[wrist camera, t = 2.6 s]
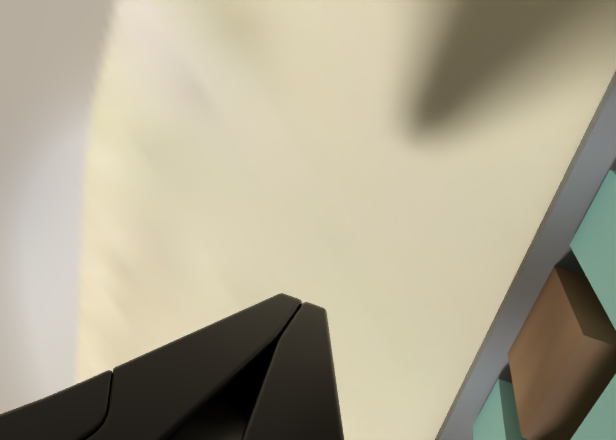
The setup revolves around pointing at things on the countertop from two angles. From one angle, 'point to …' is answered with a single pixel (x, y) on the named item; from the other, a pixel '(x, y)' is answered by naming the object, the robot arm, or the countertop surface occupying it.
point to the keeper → (612, 294)
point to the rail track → (550, 314)
